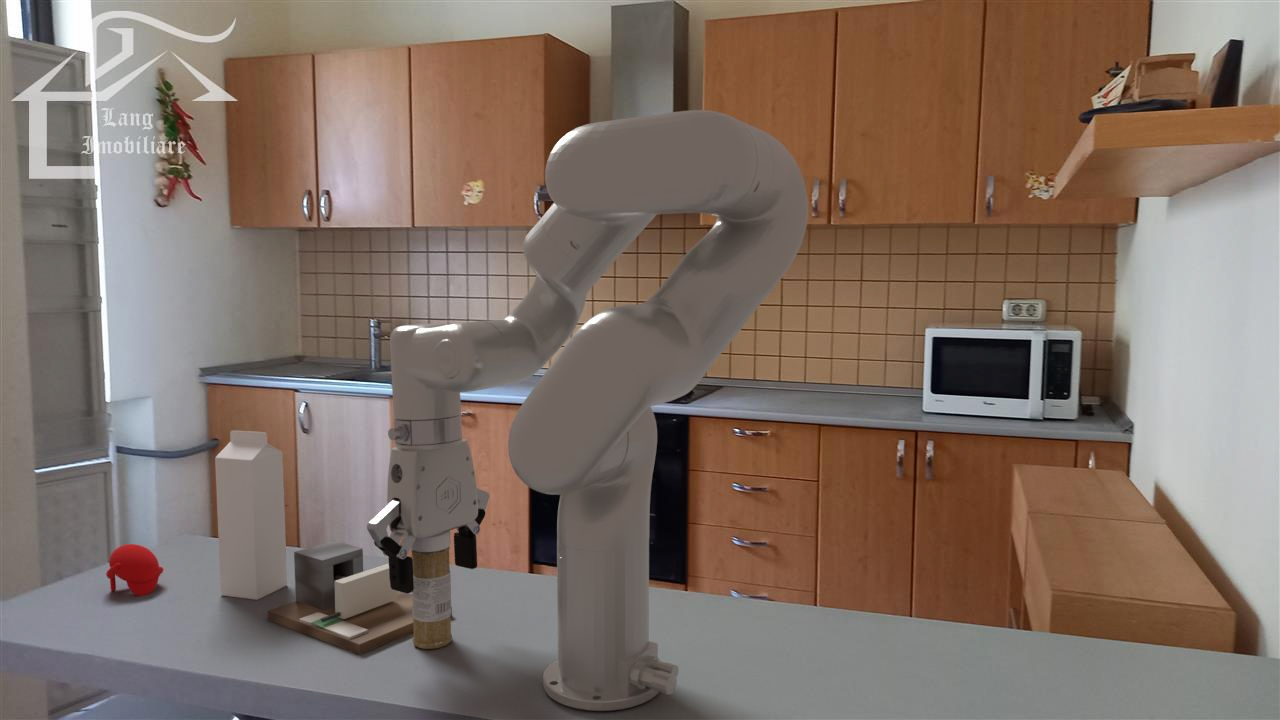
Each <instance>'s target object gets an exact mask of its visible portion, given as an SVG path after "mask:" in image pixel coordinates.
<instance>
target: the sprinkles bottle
mask: <svg viewBox="0 0 1280 720" xmlns="http://www.w3.org/2000/svg"><path fill="white" fill-rule="evenodd" d="M451 542H452V541H451V530H450V531H447V532H443V533H440V534H437V535H434V536H430V537H427V538H416V539H415V541H414V543H413V545H412V547H411V549H410V552H411V557H412V562H413V582H414V590H413V592H411V594H412V609H413V625H414V632H413V639H412V643H413V645H414V646H415V647H417V648H419V649H425V650H433V649H434V650H435V649H440V648H443V647H446V646H447V645H448V644H450V643H451V642H452V639H453V635H452V622H451V617H452V616H451V617H450V615H451V607H452V587H451V586H452V585H451V584H452V583H451V582H452V581H451V580H452V579H451V569H450V548H451V547H450V546H451Z"/></svg>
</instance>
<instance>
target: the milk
mask: <svg viewBox="0 0 1280 720" xmlns="http://www.w3.org/2000/svg"><path fill="white" fill-rule="evenodd" d="M214 462H215V464H214V465H215V467H214V468H215V484H216V485H215V486H216V489H215V490H216V509H217V510H216V512H217V514H216V515H217V531H218V532H217V534H218V535H217V537H218V556H219V557H218V558H219V578H220V579H219V583H220V595H221V596H225V597H232V598H239V599H247V600H254V601H255V600H256V601H258V600H261V599H262V598H264V597H266V596H268V595H270V594H272V593H274V592H276V591H278V590H281V589H282V588H285V587H287V586H288V573H287V571H288V568H287V567H288V566H287V546H286V545H287V544H286V516H285V489H284V485H285V483H284V461H283V451H281V450H280V449H277V448H276V447H274V446H273V445H271V444H269V443H268V434H267V432H266V431H264V432H262V431H250V430H248V431H246V430H230V432H229V442H228V444H227V445H226V446H225V447H223V449H222V450H221V451H220V452H219V453H218V454H217V455H216V456H215V457H214Z"/></svg>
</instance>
